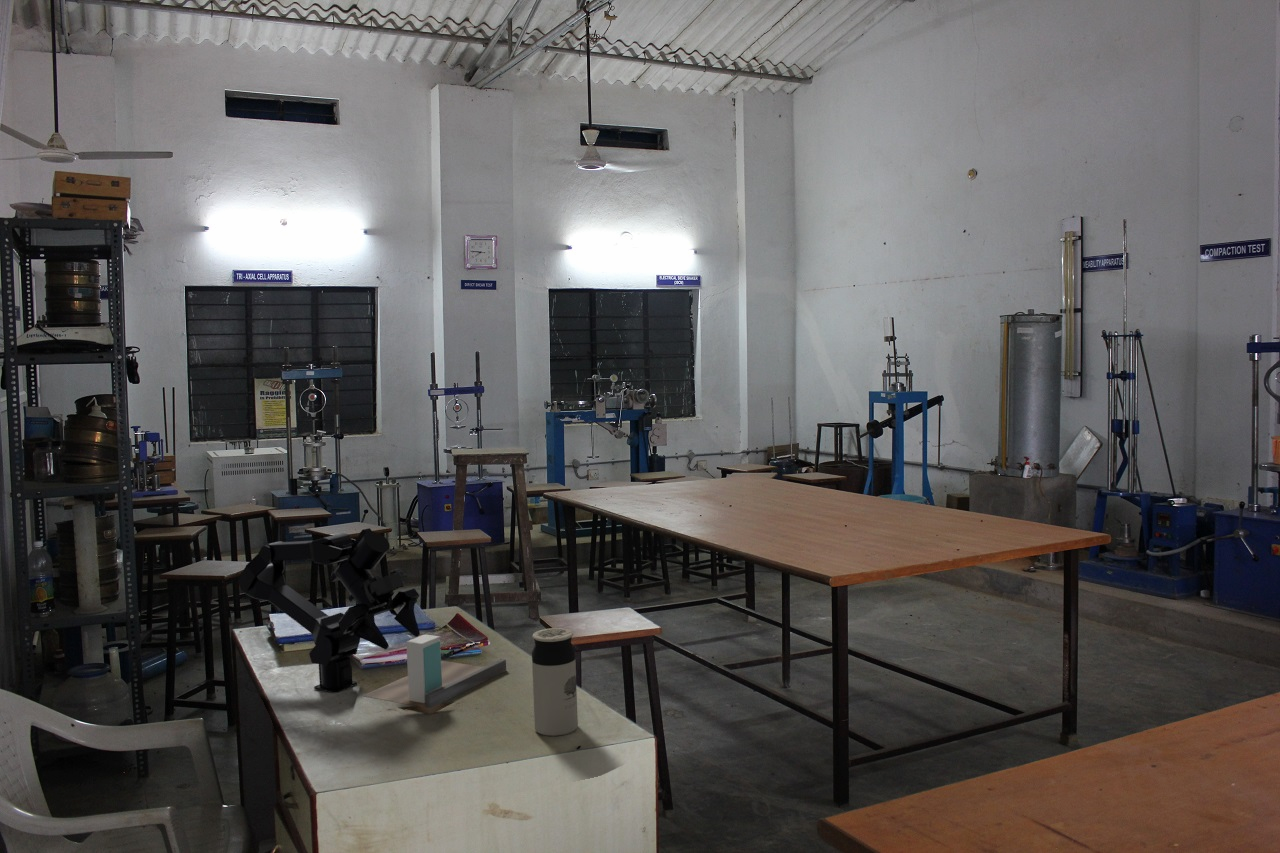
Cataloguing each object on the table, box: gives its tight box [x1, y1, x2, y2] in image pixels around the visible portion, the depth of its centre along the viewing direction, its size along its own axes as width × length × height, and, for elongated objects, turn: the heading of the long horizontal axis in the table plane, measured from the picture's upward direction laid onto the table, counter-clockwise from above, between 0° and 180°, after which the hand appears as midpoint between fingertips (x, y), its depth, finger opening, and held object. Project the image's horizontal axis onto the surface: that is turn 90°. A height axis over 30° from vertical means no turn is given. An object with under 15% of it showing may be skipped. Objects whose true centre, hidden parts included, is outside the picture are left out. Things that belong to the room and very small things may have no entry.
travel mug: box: [531, 627, 579, 737], centre depth 176 cm, size 8×8×18 cm
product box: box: [406, 634, 442, 703], centre depth 192 cm, size 4×6×12 cm
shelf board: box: [362, 658, 507, 715], centre depth 202 cm, size 18×25×4 cm
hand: (403, 641), depth 194 cm, fingers open, 9 cm apart
